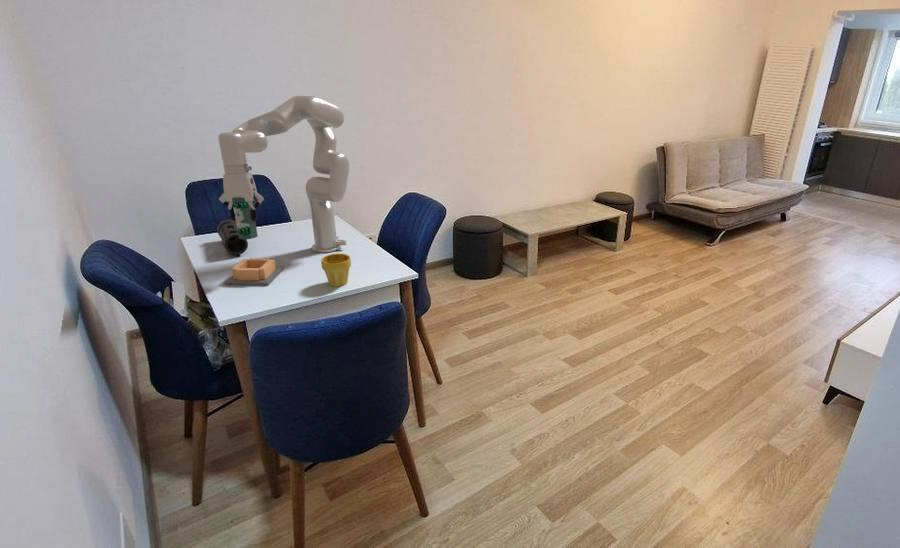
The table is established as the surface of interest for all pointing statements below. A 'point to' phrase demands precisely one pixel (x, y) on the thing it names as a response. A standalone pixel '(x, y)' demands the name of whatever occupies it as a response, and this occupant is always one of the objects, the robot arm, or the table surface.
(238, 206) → the can
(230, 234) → the muzzle brake
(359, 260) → the table surface
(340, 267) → the plant pot
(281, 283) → the table surface
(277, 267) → the socket block
